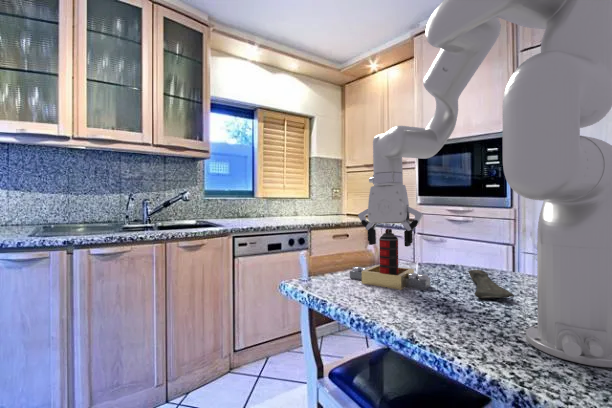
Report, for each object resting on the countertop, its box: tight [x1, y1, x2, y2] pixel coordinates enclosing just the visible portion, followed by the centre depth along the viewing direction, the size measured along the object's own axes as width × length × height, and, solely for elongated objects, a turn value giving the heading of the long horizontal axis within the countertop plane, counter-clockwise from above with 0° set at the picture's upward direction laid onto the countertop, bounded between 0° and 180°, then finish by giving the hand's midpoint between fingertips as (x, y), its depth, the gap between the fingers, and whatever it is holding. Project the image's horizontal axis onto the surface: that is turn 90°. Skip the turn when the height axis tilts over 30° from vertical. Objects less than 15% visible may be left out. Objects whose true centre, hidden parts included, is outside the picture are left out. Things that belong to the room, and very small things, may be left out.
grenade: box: [378, 226, 399, 275], centre depth 87 cm, size 6×5×15 cm
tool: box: [468, 269, 515, 299], centre depth 81 cm, size 21×8×3 cm, turn 166°
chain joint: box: [349, 264, 431, 291], centre depth 87 cm, size 10×21×4 cm, turn 56°
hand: (389, 245), depth 87 cm, fingers open, 9 cm apart
